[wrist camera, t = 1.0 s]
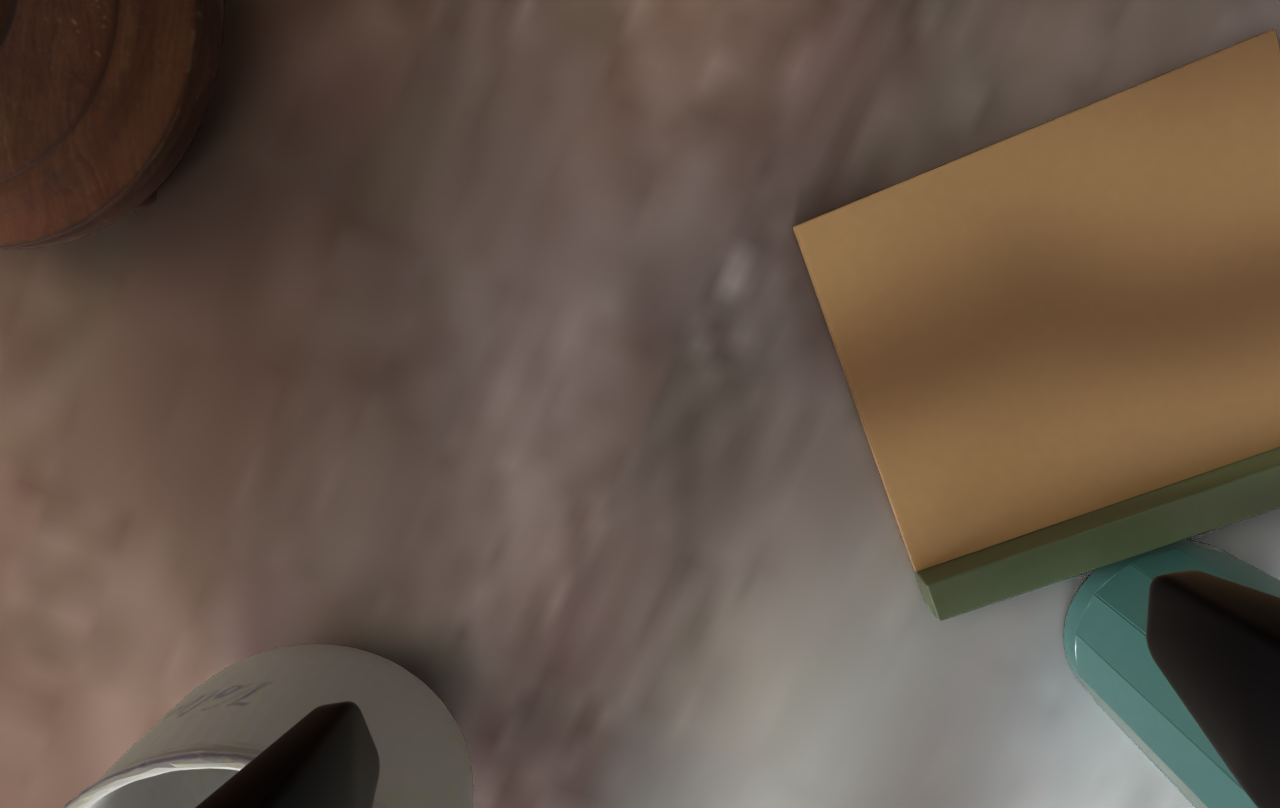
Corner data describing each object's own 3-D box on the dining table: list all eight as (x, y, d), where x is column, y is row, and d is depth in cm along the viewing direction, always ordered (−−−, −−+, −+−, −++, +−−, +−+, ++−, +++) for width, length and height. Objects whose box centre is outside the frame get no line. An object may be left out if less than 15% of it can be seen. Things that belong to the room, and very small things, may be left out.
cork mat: (1356, 458, 22) (1395, 470, 21) (925, 604, 24) (939, 622, 22) (1266, 31, 19) (1305, 17, 18) (792, 227, 21) (799, 225, 20)
